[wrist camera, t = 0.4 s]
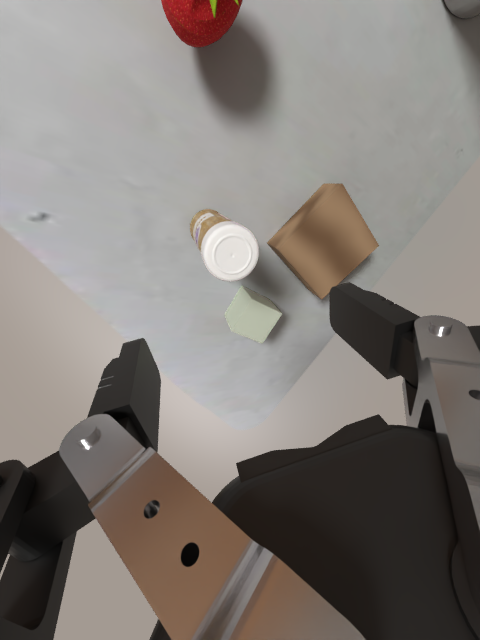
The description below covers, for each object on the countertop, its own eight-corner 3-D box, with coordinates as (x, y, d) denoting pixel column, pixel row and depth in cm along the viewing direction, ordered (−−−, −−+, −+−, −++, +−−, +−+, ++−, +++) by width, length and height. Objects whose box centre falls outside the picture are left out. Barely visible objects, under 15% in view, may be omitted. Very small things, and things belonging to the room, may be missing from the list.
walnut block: (323, 183, 33) (342, 183, 29) (359, 239, 37) (378, 245, 34) (266, 243, 34) (278, 249, 31) (308, 289, 39) (321, 299, 36)
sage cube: (241, 285, 36) (251, 298, 32) (269, 299, 38) (282, 313, 34) (224, 314, 38) (231, 331, 33) (252, 326, 40) (262, 343, 36)
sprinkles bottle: (186, 211, 30) (198, 228, 19) (224, 206, 31) (259, 220, 19) (193, 250, 32) (208, 287, 21) (228, 245, 33) (262, 278, 22)
